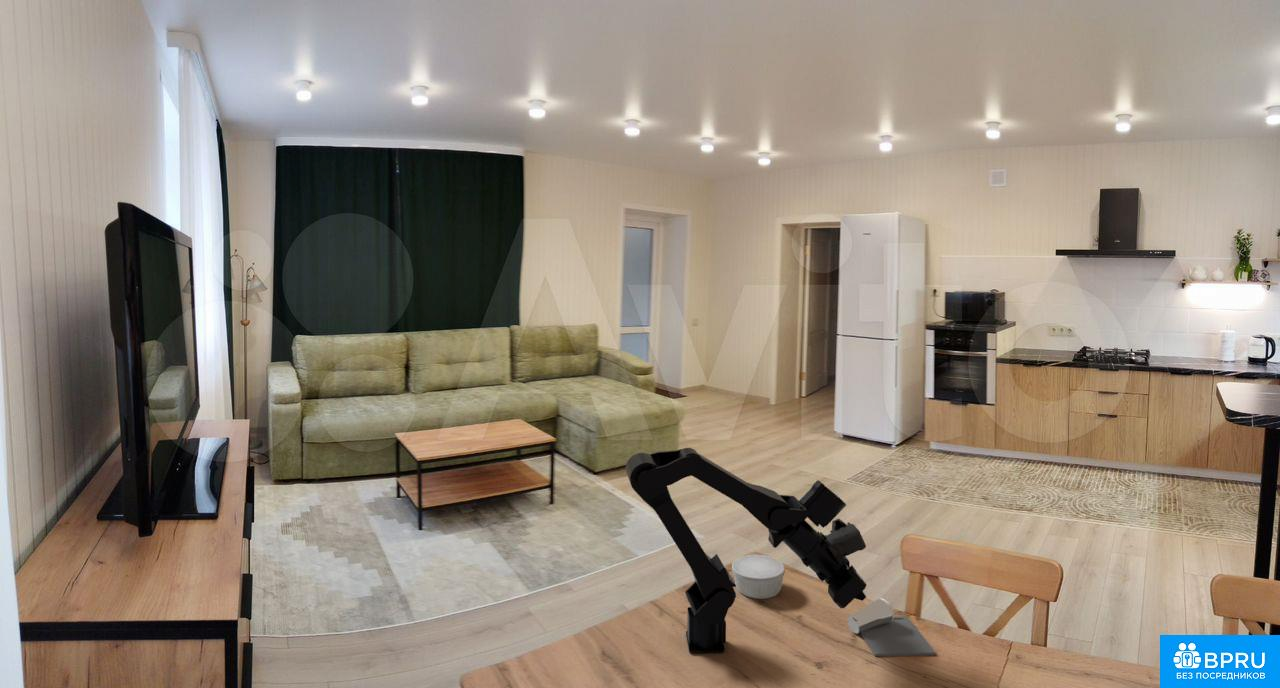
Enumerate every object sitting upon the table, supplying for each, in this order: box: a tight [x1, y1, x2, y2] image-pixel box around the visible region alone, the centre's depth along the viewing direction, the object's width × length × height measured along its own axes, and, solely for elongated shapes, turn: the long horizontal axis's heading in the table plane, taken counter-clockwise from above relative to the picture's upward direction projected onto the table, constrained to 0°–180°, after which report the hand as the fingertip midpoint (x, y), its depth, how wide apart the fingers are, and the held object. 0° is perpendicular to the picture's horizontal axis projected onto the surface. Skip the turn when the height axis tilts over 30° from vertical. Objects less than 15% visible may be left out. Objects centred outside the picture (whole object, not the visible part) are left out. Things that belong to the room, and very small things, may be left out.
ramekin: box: [731, 554, 786, 600], centre depth 142 cm, size 11×11×5 cm
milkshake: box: [846, 598, 904, 635], centre depth 126 cm, size 4×5×10 cm
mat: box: [859, 616, 936, 657], centre depth 124 cm, size 11×12×1 cm
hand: (863, 598), depth 124 cm, fingers closed
